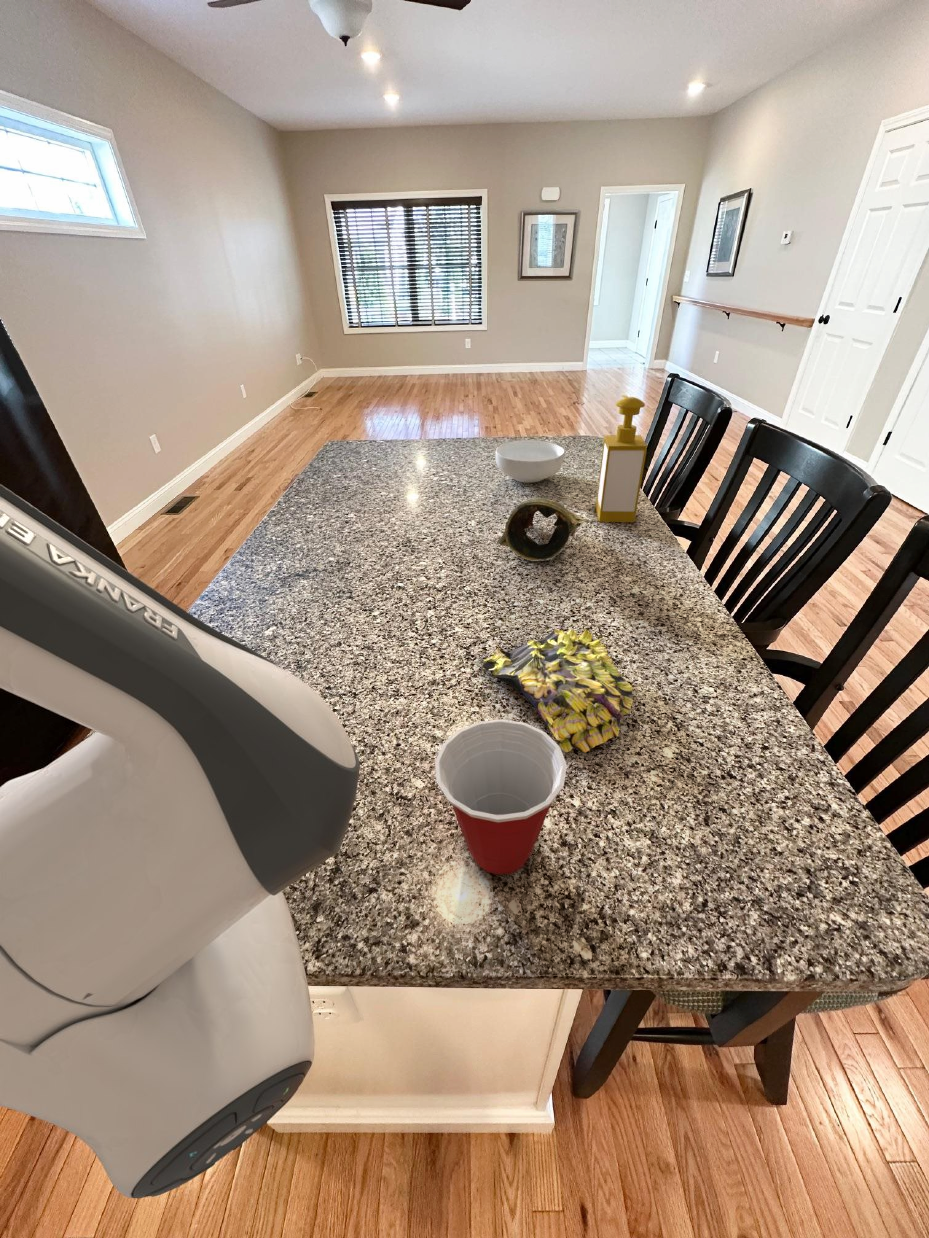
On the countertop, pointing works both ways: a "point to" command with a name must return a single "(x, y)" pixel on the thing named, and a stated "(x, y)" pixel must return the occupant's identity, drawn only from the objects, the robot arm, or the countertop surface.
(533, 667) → the banana patterned fabric
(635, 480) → the soap bottle
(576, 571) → the countertop surface
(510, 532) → the pot
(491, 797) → the plastic cup
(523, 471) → the cereal bowl
